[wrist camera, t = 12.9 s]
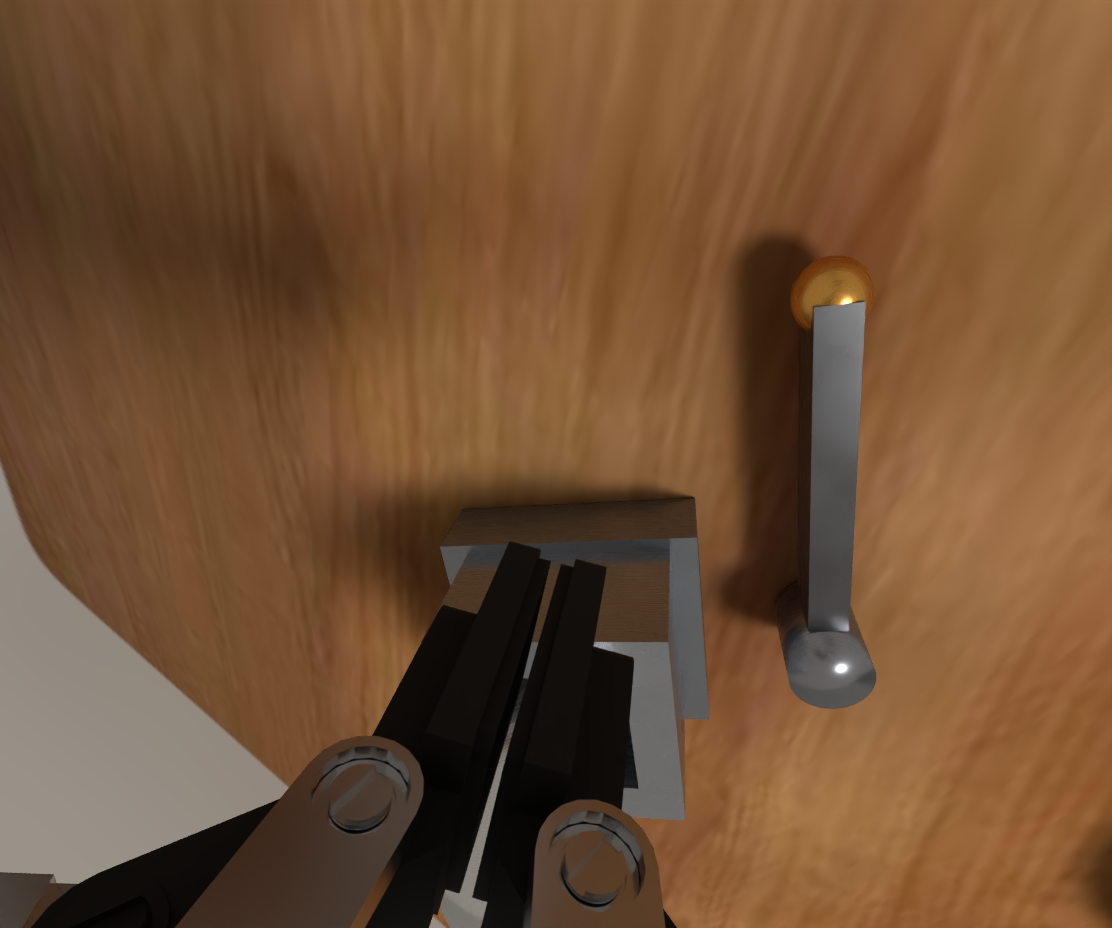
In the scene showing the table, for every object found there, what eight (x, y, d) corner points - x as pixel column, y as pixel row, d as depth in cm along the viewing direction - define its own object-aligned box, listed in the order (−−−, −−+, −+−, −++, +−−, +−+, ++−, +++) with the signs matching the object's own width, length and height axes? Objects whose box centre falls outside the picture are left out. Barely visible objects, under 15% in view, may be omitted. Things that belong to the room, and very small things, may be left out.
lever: (770, 253, 21) (789, 273, 18) (868, 241, 20) (908, 259, 17) (774, 637, 28) (788, 707, 24) (848, 636, 27) (873, 709, 24)
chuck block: (462, 509, 28) (388, 630, 21) (694, 498, 26) (701, 628, 19) (500, 666, 32) (449, 814, 24) (706, 668, 29) (715, 831, 22)
